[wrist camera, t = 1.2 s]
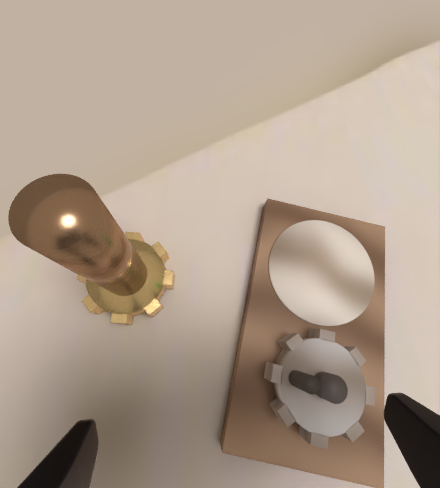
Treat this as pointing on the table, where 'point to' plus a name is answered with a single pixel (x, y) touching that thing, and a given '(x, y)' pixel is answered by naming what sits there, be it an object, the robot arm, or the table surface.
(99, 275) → the brass gear
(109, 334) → the table surface
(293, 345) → the gear board
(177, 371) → the table surface
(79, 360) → the table surface
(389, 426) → the robot arm
